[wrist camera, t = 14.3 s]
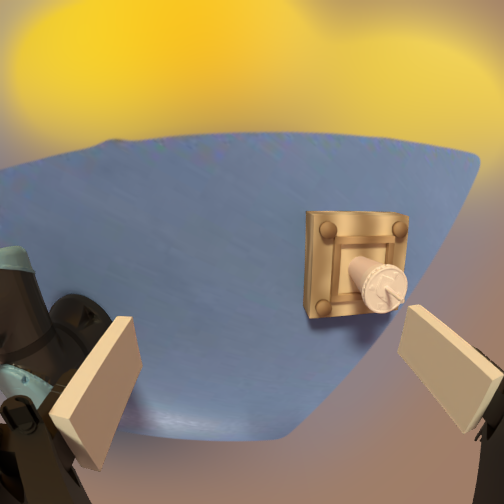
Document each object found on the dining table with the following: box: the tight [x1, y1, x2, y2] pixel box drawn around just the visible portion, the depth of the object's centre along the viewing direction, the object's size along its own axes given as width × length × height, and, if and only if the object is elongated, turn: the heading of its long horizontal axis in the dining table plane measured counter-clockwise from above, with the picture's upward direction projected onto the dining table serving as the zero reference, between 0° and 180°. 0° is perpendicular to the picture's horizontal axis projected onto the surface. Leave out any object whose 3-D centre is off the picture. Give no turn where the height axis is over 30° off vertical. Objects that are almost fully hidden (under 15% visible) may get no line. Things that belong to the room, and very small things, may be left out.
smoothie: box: [348, 256, 407, 313], centre depth 36 cm, size 6×6×14 cm
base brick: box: [303, 211, 409, 318], centre depth 45 cm, size 16×16×6 cm
